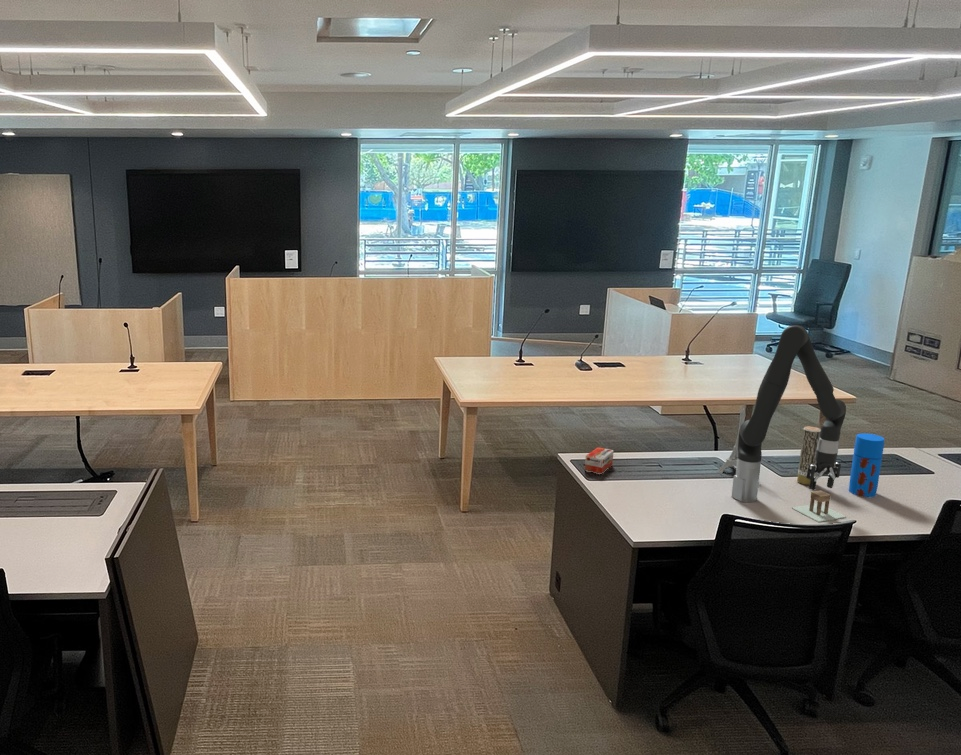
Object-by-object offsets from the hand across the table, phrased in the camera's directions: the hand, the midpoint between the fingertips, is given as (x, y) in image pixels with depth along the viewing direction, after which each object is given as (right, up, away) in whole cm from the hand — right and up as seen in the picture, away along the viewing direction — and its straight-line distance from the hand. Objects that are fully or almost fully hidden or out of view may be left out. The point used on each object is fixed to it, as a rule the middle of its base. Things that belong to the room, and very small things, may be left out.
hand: (820, 488), depth 300 cm
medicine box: (-81, +2, +47) cm, 93 cm away
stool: (0, -10, +3) cm, 10 cm away
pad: (0, -10, +3) cm, 11 cm away
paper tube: (+9, -3, +35) cm, 37 cm away
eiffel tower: (-17, 0, +47) cm, 50 cm away
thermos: (+29, -6, +25) cm, 39 cm away
